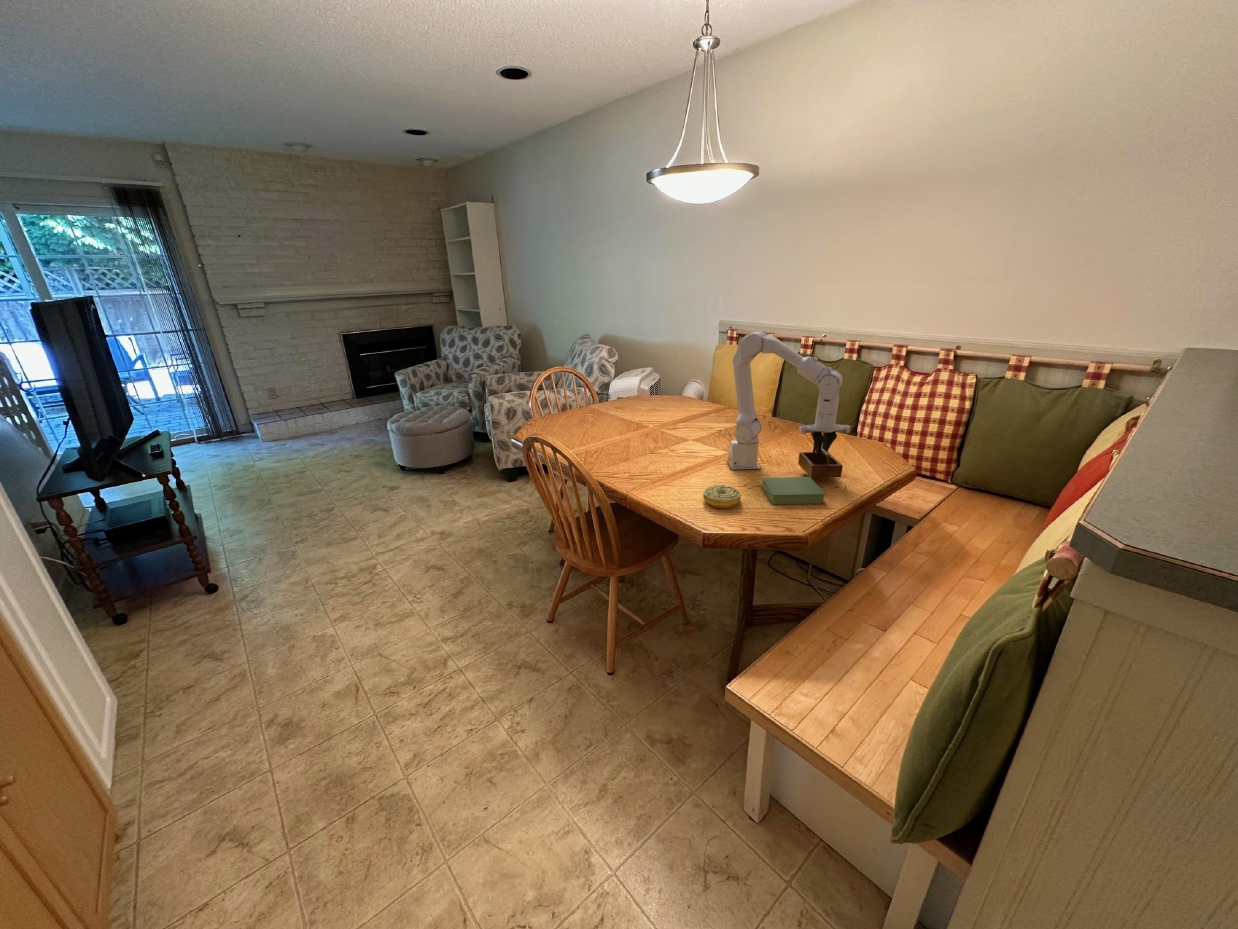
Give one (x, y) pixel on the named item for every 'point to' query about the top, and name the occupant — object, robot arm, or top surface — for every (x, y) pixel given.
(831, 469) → the basket
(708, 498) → the decorated donut
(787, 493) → the green flat block
